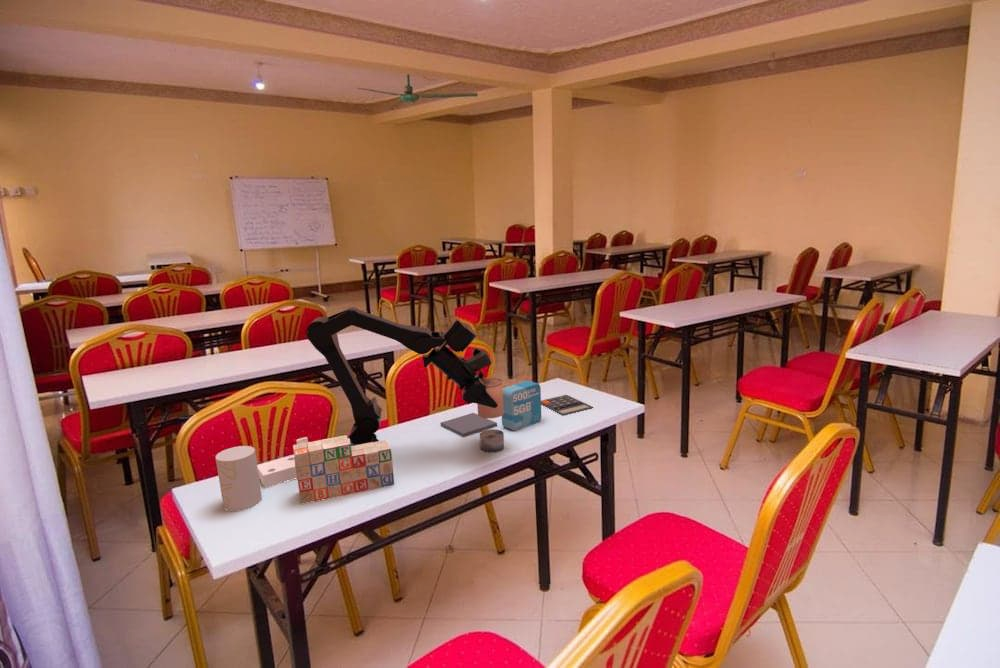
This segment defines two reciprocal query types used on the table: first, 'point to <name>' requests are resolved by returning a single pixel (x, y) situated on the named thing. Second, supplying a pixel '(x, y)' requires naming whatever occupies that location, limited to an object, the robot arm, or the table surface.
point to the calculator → (565, 405)
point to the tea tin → (491, 441)
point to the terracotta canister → (496, 393)
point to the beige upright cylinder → (238, 478)
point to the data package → (521, 405)
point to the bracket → (279, 469)
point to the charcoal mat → (468, 424)
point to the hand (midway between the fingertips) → (495, 402)
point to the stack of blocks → (341, 467)
